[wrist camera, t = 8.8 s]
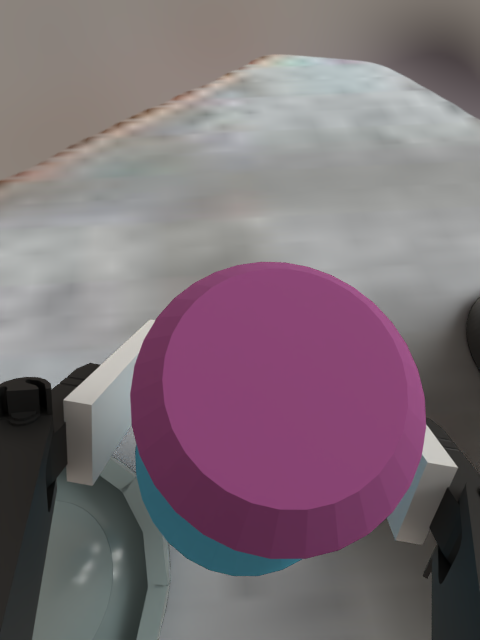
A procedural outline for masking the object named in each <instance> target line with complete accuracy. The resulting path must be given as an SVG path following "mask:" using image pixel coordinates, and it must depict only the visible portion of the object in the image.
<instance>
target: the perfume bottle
mask: <svg viewBox="0 0 480 640" xmlns="http://www.w3.org/2000/svg"><path fill="white" fill-rule="evenodd" d="M130 402H131V422H132V428H133V432H134V436H135V439H136V451H135V457H136V476H137V480H138V484H139V488H140V492H141V496H142V500H143V502H144V504H145V507H146V509H147V511H148V513H149V515H150V517H151V519H152V521H153V523H154V524H155V526H156V527H157V528H158V530H159V531H160V532H161V534H162V535H163V536H164V538H165V539H166V540H167V542H168V543H169V544H171V545H172V546H173V547H174V548H175V549H177V550H178V551H179V552H180V553H181V554H182V555H184V556H185V557H186V558H187V559H189V560H191V561H193V562H195V563H197V564H199V565H201V566H203V567H204V568H206V569H208V570H211V571H215V572H220V573H224V574H228V575H232V576H260V575H264V574H268V573H271V572H275V571H279V570H283V569H285V568H287V567H288V566H290V565H292V564H294V563H296V562H298V561H300V560H302V559H306V558H310V557H314V556H318V555H322V554H326V553H330V552H334V551H338V550H340V549H342V548H344V547H346V546H348V545H349V544H351V543H353V542H355V541H357V540H359V539H361V538H363V537H364V536H366V535H368V534H369V533H370V532H372V531H373V530H374V529H375V528H376V527H377V526H378V525H379V524H380V523H381V522H383V521H384V520H385V519H386V518H387V517H388V516H389V515H390V514H391V513H392V512H393V511H394V510H395V508H396V507H397V505H398V504H399V502H400V501H401V499H402V498H403V496H404V495H405V493H406V492H407V490H408V489H409V487H410V486H411V483H412V481H413V478H414V475H415V473H416V470H417V468H418V465H419V463H420V460H421V457H422V451H423V445H424V438H425V432H426V413H425V397H424V393H423V389H422V384H421V380H420V376H419V372H418V369H417V367H416V364H415V362H414V360H413V358H412V355H411V353H410V351H409V349H408V346H407V344H406V343H405V341H404V340H403V338H402V337H401V335H400V334H399V332H398V331H397V329H396V328H395V326H394V325H393V323H392V322H391V321H390V320H389V319H388V318H387V317H386V315H385V314H384V313H383V312H382V311H381V310H380V309H379V308H378V307H377V306H376V305H375V304H374V303H373V302H372V301H371V300H369V299H368V298H367V297H365V296H364V295H363V294H362V293H360V292H359V291H358V290H356V289H355V288H354V287H352V286H350V285H348V284H347V283H345V282H343V281H341V280H339V279H337V278H336V277H334V276H332V275H329V274H327V273H324V272H321V271H318V270H315V269H313V268H310V267H306V266H300V265H295V264H290V263H281V262H257V263H250V264H243V265H237V266H234V267H230V268H227V269H224V270H221V271H218V272H215V273H213V274H211V275H209V276H207V277H205V278H203V279H201V280H199V281H197V282H195V283H194V284H192V285H191V286H190V287H188V288H187V289H186V290H184V291H183V292H182V293H181V294H179V295H178V296H177V297H175V298H174V299H173V300H172V301H171V303H170V304H169V305H168V306H167V307H166V308H165V309H164V310H163V311H162V313H161V314H160V315H159V316H158V317H157V319H156V320H155V322H154V324H153V325H152V327H151V329H150V330H149V332H148V334H147V335H146V337H145V339H144V341H143V343H142V346H141V349H140V352H139V354H138V357H137V360H136V363H135V365H134V372H133V378H132V385H131V391H130Z"/></svg>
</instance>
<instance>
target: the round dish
mask: <svg viewBox="0 0 480 640" xmlns="http://www.w3.org/2000/svg"><path fill="white" fill-rule="evenodd" d="M170 582H171V574H170V552H169V543H168V542H167V540H166V539H165V538H164V536H163V535H162V534H161V532H160V531H159V530H158V528H157V527H156V526H155V524H154V523H153V521H152V519H151V517H150V515H149V513H148V511H147V509H146V507H145V504H144V502H143V500H142V496H141V492H140V488H139V484H138V480H137V476H136V473H134V472H133V471H132V470H131V469H130V468H129V467H127V466H126V465H125V464H123V463H122V462H120V461H118V460H117V459H115V458H114V457H112V456H111V458H110V459H109V461H108V462H107V464H106V466H105V467H104V469H103V470H102V472H101V473H100V475H99V477H98V478H97V480H96V481H95V483H94V484H93V486H90V485H85V484H79V483H74V482H68V481H67V473H66V467H65V468H64V469H63V471H62V472H61V473H60V474H59V476H58V477H57V493H56V499H55V505H54V511H53V517H52V523H51V529H50V535H49V541H48V547H47V553H46V559H45V565H44V571H43V577H42V583H41V589H40V595H39V601H38V607H37V613H36V619H35V625H34V631H33V637H32V640H159V637H160V632H161V627H162V623H163V619H164V615H165V611H166V607H167V600H168V593H169V587H170Z"/></svg>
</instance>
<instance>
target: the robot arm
mask: <svg viewBox="0 0 480 640" xmlns="http://www.w3.org/2000/svg"><path fill="white" fill-rule="evenodd" d="M154 322H155V320H149V321H148V322H147V323H146V324H145V325H144V326H142V327H141V328H140V329H139V330H138V331H137V332H136V333H135V334H134V335H133V336H132V337H131V338H130V339H128V340H127V341H126V342H125V343H124V344H123V345H122V346H121V347H120V348H119V349H118V350H117V351H116V352H114V353H113V354H112V355H111V356H110V357H109V358H108V359H107V360H106V361H105V362H104V363H103V364H102V365H98V364H92V363H89V364H87V365H85V366H82V367H80V368H77V369H76V370H75V371H73V372H72V373H71V374H70V375H69V376H68V377H67V378H65V379H64V380H63V381H61V382H60V384H58V385H57V386H55V387H54V388H53V389H52V390H51V383H49V382H48V381H47V380H45V379H42V378H38V377H24V378H16V379H13V380H9V381H6V382H3V383H2V384H0V640H32V637H33V631H34V625H35V619H36V613H37V607H38V601H39V595H40V589H41V583H42V577H43V571H44V565H45V559H46V553H47V547H48V541H49V535H50V529H51V523H52V517H53V511H54V505H55V499H56V493H57V477H58V476H59V474H60V473H61V472H62V471H63V469H64V468H65V467H66V473H67V481H68V482H74V483H79V484H85V485H90V486H93V484H94V483H95V481H96V480H97V478H98V477H99V475H100V473H101V472H102V470H103V469H104V467H105V466H106V464H107V462H108V461H109V459H110V458H111V456H112V455H113V453H114V451H115V450H116V448H117V447H118V445H119V444H120V442H121V440H122V439H123V437H124V436H125V434H126V433H127V431H128V429H129V428H130V426H131V425H132V422H131V402H130V391H131V385H132V378H133V372H134V365H135V363H136V360H137V357H138V354H139V352H140V349H141V346H142V343H143V341H144V339H145V337H146V335H147V334H148V332H149V330H150V329H151V327H152V325H153V324H154ZM467 338H468V344H469V347H470V351H471V353H472V356H473V358H474V361H475V363H476V365H477V367H478V368H479V370H480V298H479V299H478V300H477V301H476V302H475V303H474V305H473V307H472V308H471V310H470V313H469V316H468V321H467ZM387 520H388V523H389V525H390V528H391V530H392V533H393V536H394V538H395V540H397V541H402V542H408V543H414V544H419V545H423V544H424V541H425V539H426V537H427V535H428V533H429V530H431V532H432V534H433V536H434V538H435V540H436V541H437V545H436V547H435V550H434V552H433V554H432V556H431V558H430V560H429V562H428V564H427V566H426V568H425V571H424V574H423V576H424V577H425V578H428V576H429V574H430V572H432V640H480V475H479V474H478V473H477V471H476V470H475V469H474V468H473V466H472V465H471V464H470V463H469V461H468V460H467V459H466V458H465V456H464V455H463V454H462V453H461V451H458V448H457V446H456V445H455V444H454V443H453V442H451V439H450V438H449V436H448V435H447V434H446V432H445V431H444V430H443V429H442V428H441V427H439V426H438V425H437V424H436V423H434V422H433V421H432V420H430V419H428V418H426V432H425V438H424V445H423V451H422V457H421V460H420V463H419V465H418V468H417V470H416V473H415V475H414V478H413V481H412V483H411V486H410V487H409V489H408V490H407V492H406V493H405V495H404V496H403V498H402V499H401V501H400V502H399V504H398V505H397V507H396V508H395V510H394V511H393V512H392V513H391V514H390V515H389V516H388V517H387Z"/></svg>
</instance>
